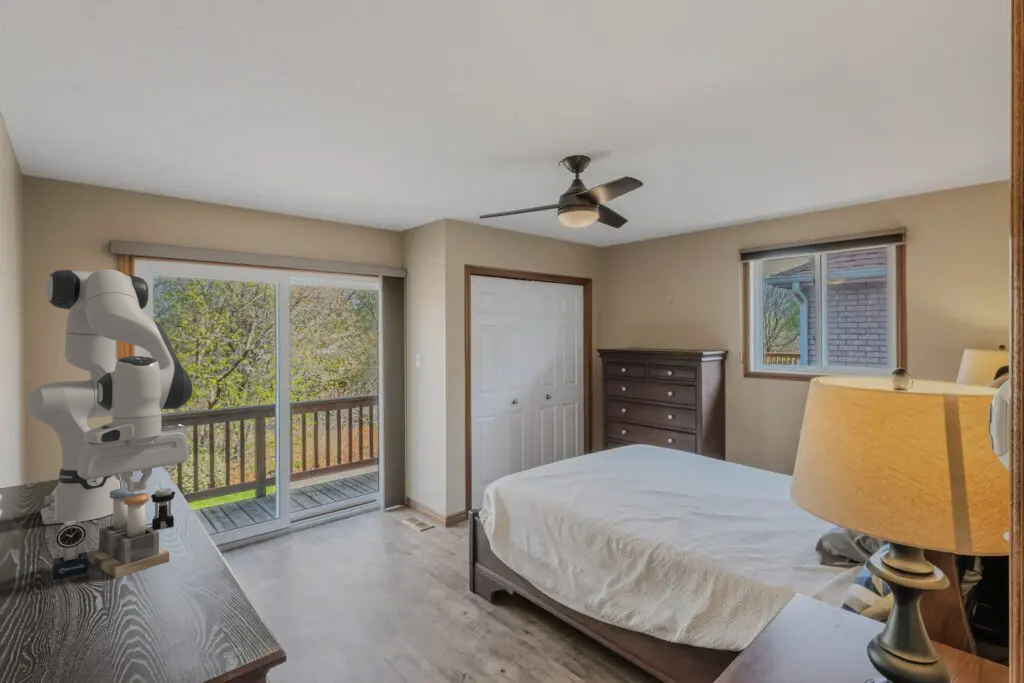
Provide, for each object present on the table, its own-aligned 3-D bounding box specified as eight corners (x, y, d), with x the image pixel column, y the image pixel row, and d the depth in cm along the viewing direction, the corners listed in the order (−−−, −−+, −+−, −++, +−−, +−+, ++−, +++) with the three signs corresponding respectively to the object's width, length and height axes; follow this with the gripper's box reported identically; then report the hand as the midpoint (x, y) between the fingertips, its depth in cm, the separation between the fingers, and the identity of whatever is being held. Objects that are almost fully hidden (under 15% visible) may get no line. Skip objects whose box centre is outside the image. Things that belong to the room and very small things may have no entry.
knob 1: (106, 530, 114) (106, 491, 114) (129, 525, 118) (129, 486, 118) (113, 534, 112) (114, 494, 112) (136, 528, 115) (137, 489, 115)
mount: (87, 560, 113) (88, 529, 113) (139, 545, 121) (139, 516, 121) (115, 578, 104) (116, 545, 104) (169, 561, 112) (169, 530, 112)
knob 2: (120, 538, 110) (120, 497, 110) (143, 532, 113) (143, 492, 113) (128, 542, 107) (129, 500, 107) (151, 536, 111) (152, 495, 111)
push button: (144, 533, 128) (145, 495, 129) (144, 527, 133) (144, 490, 133) (175, 528, 133) (175, 491, 133) (174, 522, 137) (174, 486, 137)
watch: (52, 583, 102) (53, 530, 102) (53, 570, 108) (54, 520, 108) (88, 575, 105) (89, 523, 105) (87, 562, 111) (87, 514, 111)
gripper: (181, 421, 121) (181, 477, 121) (74, 434, 104) (74, 499, 104) (194, 423, 118) (193, 481, 117) (85, 437, 100) (85, 504, 100)
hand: (136, 490), depth 110 cm, fingers closed
